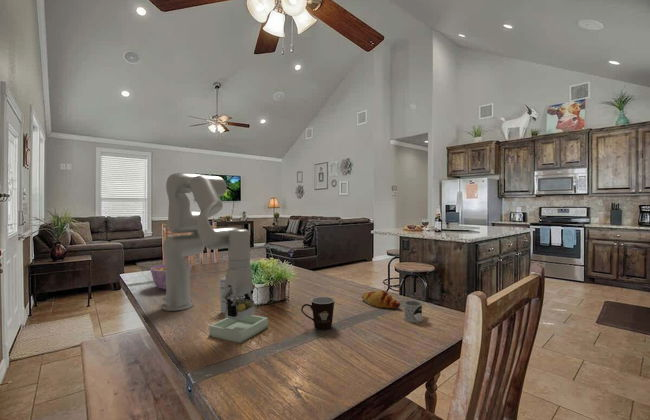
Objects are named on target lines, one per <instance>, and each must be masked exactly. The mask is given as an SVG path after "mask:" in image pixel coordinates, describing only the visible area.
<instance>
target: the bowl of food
mask: <svg viewBox="0 0 650 420" xmlns="http://www.w3.org/2000/svg"><path fill="white" fill-rule="evenodd" d="M189 268H190V271H191V269H192V264H189ZM150 272H151V276H152V280H153V283H154V285H155V286H156V287H157V288H159V289H162V290H163V291H166V264H160V265H157V266H153V267H150Z"/></svg>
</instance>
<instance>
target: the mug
mask: <svg viewBox="0 0 650 420" xmlns="http://www.w3.org/2000/svg"><path fill="white" fill-rule="evenodd" d="M403 308H404V310H403V312H404V313H403V315H404V318H403V319H404V321H405V322H406V323H407V322H408V323H411V324H419V323H422V321H423V316H422V315H423V303H422V302H421V301H418V300H405V301H403Z"/></svg>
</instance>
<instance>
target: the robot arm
mask: <svg viewBox="0 0 650 420" xmlns="http://www.w3.org/2000/svg"><path fill="white" fill-rule="evenodd" d="M165 187H166V188H165V190H166V194H167V198H168V210H167V211H168V214H167V215H168V217H167V227H168V230H169V232H170V233H173V234H181V235H172V236H169V237H167V238H166V239H165V240H164V241H163V245H162V249H163V254H164V260H165V265H166V290H165V293H166V294H165V296H163V297H162V298H161V300H162V301H165V303H164V304H163V305H162V309H163V310H164V311H166V312H167V311H168V312H174V311H175V312H177V311H178V312H179V311H184V310H187V309H190V308H192V307H193V306H194V305H195V304H194V303H195V302H194V301H193V300H191V284H190V283H191V279H190V278H191V277H190V275H191V270H190V268H189V265H190V264H189V263H188V261H187V260H186V257H189V256H190V257H191V256H196V255H201V254H202V253H203V252H204V251H205V248H206V249H208V250H211V251H212V250H220V249H228V260H227V262H228V266H227V267H228V268H227V269H226V273H225V277H226V278H225V277H224V278H225V293H224V294H223V296H222V298H223V300H224V302H225V303H226V305H228V316H231V317H236V305H235V302H236V299H237V297H239V298H241V297H242V296H243V299H249V300H252V298H253V294H254V291H255V288H256V285H255V283H254V282H253V275H252V267H251V242H250V241H251V233H250V231H249V230H248V229H246V228H238V227H219V228H218V227H216V228H213V227H212V226H211V224H210V221H209V218H211V217H213V216H215V215H217V214H218V213H219V212H220V211H222V209H223V206H224V205H223V201H222V199H221V198H220V197H222V196H224V195H225V194H226V192H227V191H228V190H227V187H228V186H227V183H226V181H225V179H224V178H222V177H221V176H217V175H210V174H202V173H201V174H199V173H190V172H189V173H188V172H176V173H175V172H174V173H173V174H170V175H169V176H168V177H167V180H166V183H165ZM187 194H192V195H193V197H194V199H195V201H196V204H197V206H198V208H199V210H200V211H199V210H191V200H190V198H189V196H188V195H187ZM183 233H191V234H183ZM232 295H233V296H232ZM228 296H229V297H228ZM231 298H233V300H232V301H231Z"/></svg>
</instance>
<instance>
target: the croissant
mask: <svg viewBox="0 0 650 420" xmlns="http://www.w3.org/2000/svg"><path fill="white" fill-rule="evenodd" d="M361 299H362V300H363V301H364V302H365V303H366V304H368V305H369V306H372V307H375V308H376V307H377V308H385V309H397V308H399V307H400V306H401V303H400V302H399V301H398V300H396V299H394V298H393V297H392V295H390V294H388V292H387V291H385V290H378V291H369V292H365V293H362V295H361Z"/></svg>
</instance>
